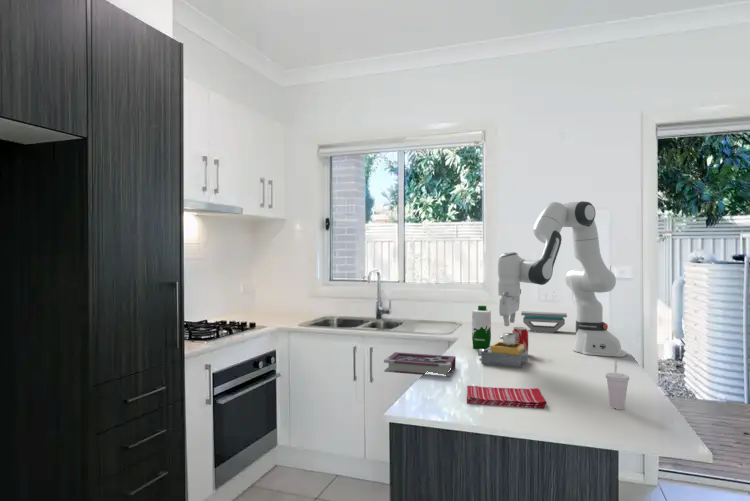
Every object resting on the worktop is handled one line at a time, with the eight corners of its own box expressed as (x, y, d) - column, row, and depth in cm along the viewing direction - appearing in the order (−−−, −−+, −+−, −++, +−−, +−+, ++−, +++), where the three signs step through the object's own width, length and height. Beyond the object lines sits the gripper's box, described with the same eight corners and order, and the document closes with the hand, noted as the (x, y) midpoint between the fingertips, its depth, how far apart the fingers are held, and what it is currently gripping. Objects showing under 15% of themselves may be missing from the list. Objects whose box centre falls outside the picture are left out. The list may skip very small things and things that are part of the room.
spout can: (516, 350, 204) (516, 333, 204) (513, 352, 200) (513, 335, 200) (501, 348, 207) (501, 332, 207) (498, 350, 203) (498, 334, 203)
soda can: (529, 356, 217) (529, 329, 217) (512, 355, 218) (512, 328, 218) (527, 353, 224) (527, 327, 224) (511, 352, 225) (511, 326, 225)
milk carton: (491, 346, 239) (492, 305, 239) (489, 349, 231) (489, 307, 231) (474, 345, 242) (474, 305, 242) (470, 348, 234) (470, 307, 234)
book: (383, 373, 188) (383, 360, 188) (394, 363, 203) (394, 351, 203) (449, 378, 180) (449, 365, 180) (455, 368, 195) (455, 356, 195)
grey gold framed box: (527, 361, 206) (527, 343, 206) (520, 368, 194) (520, 349, 194) (481, 356, 216) (481, 339, 216) (472, 362, 204) (472, 344, 204)
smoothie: (601, 404, 148) (601, 358, 148) (621, 404, 149) (621, 358, 149) (613, 411, 142) (613, 363, 142) (634, 410, 142) (634, 363, 142)
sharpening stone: (566, 331, 285) (566, 313, 285) (566, 333, 278) (566, 314, 278) (521, 329, 294) (522, 311, 294) (521, 331, 286) (521, 312, 286)
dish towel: (547, 411, 144) (547, 402, 144) (466, 405, 148) (466, 396, 148) (539, 394, 160) (539, 386, 160) (467, 390, 165) (467, 382, 165)
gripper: (510, 293, 193) (511, 328, 193) (521, 289, 211) (522, 321, 211) (495, 293, 196) (495, 327, 196) (507, 289, 214) (507, 320, 214)
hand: (509, 324), depth 204 cm, fingers open, 8 cm apart
